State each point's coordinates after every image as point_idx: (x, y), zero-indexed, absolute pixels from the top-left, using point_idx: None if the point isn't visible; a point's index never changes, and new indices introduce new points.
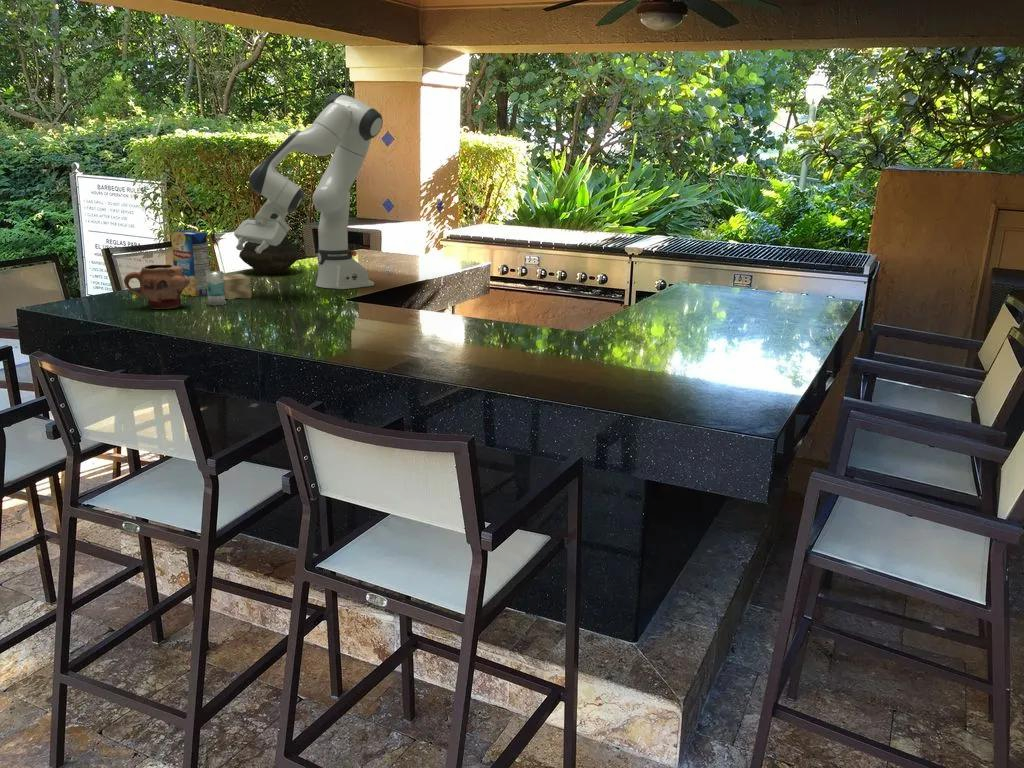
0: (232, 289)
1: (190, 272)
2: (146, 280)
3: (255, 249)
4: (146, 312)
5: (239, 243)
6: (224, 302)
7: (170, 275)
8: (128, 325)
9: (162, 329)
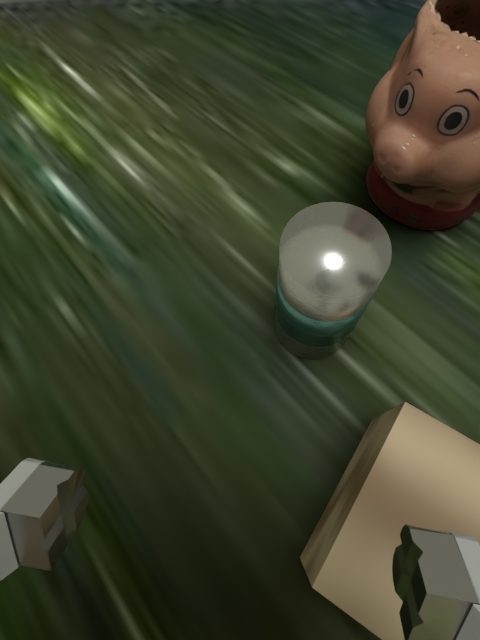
0: (359, 463)
1: None
2: (453, 10)
3: (63, 469)
4: None
5: (472, 604)
6: (276, 331)
7: (406, 50)
8: (280, 8)
9: (173, 22)
